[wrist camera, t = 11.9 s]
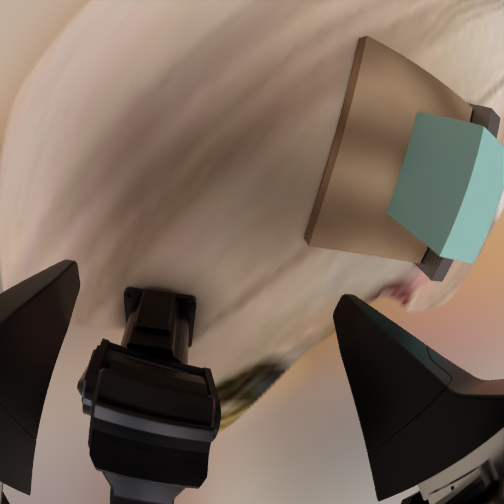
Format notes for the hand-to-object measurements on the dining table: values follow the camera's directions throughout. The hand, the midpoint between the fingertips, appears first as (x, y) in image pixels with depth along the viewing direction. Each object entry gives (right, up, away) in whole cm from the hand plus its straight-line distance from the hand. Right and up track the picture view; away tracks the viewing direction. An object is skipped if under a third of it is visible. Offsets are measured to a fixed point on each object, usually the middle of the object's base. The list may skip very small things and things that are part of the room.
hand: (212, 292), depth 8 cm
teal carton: (+16, +8, +10) cm, 20 cm away
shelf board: (+14, +9, +11) cm, 19 cm away
